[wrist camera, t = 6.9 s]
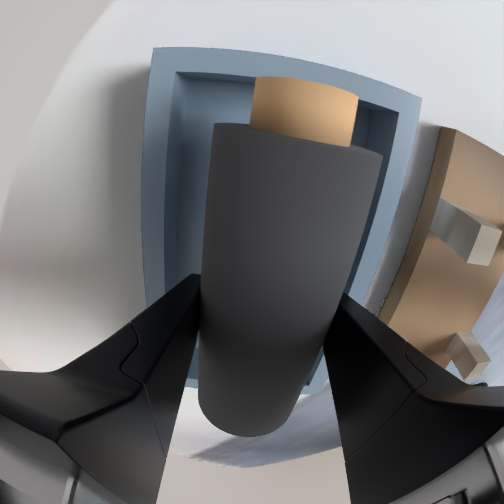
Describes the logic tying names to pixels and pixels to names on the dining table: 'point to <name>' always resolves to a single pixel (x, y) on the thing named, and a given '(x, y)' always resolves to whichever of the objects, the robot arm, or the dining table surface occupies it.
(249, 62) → the tray
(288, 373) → the tan-capped grey cylinder
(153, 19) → the dining table surface
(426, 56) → the dining table surface
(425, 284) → the block
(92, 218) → the dining table surface
